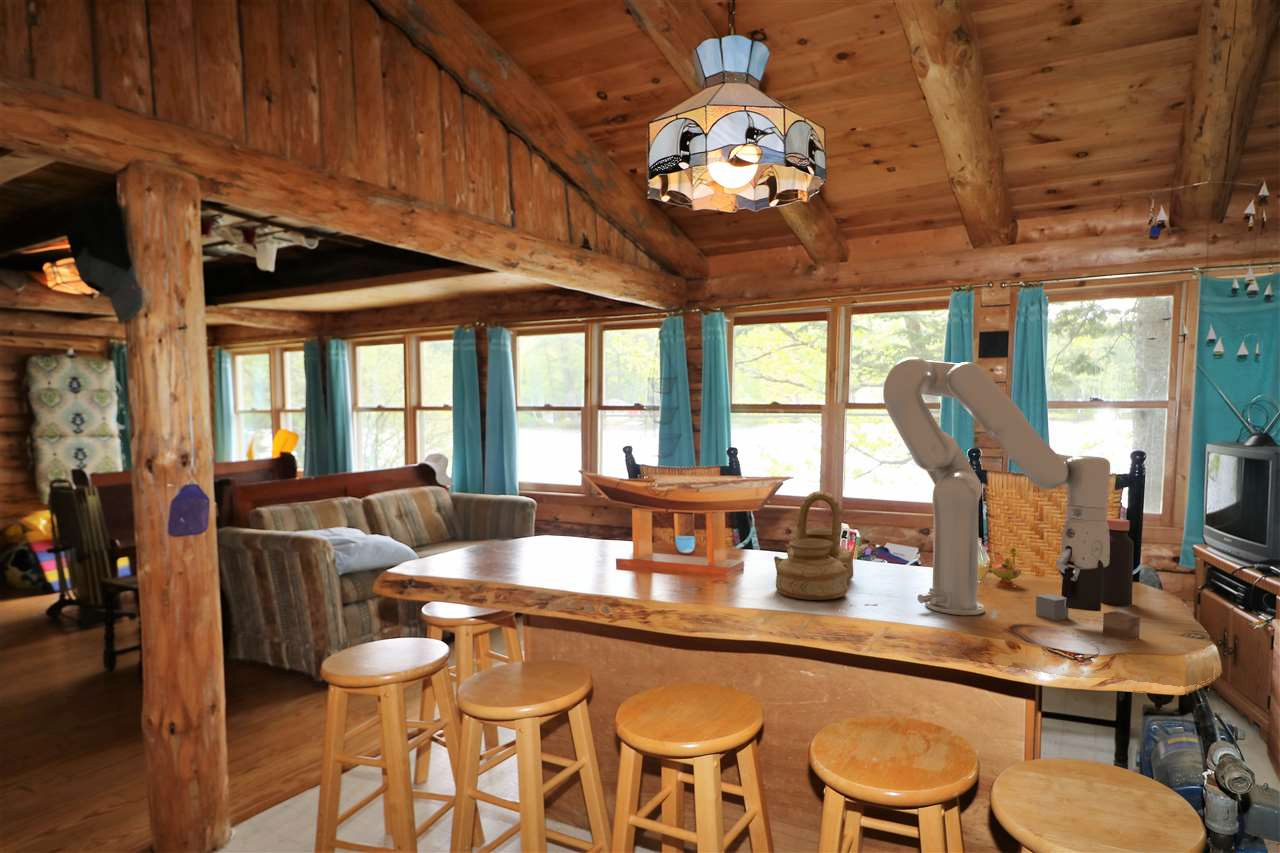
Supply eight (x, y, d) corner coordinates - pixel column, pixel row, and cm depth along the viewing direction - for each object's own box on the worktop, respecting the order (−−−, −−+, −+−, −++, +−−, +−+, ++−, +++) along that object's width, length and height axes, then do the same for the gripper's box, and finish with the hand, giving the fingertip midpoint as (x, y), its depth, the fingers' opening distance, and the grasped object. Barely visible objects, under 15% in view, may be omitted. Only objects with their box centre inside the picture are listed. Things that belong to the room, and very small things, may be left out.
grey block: (1054, 621, 158) (1055, 600, 158) (1035, 615, 162) (1036, 595, 162) (1068, 618, 160) (1068, 598, 160) (1049, 613, 164) (1049, 593, 164)
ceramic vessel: (788, 570, 206) (789, 483, 205) (855, 575, 200) (856, 486, 199) (767, 599, 174) (769, 496, 173) (847, 607, 168) (848, 500, 167)
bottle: (1115, 598, 177) (1117, 517, 176) (1139, 606, 170) (1141, 521, 169) (1091, 599, 175) (1093, 518, 175) (1114, 607, 169) (1116, 522, 168)
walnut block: (1125, 641, 144) (1126, 619, 144) (1102, 634, 148) (1103, 613, 148) (1139, 638, 146) (1139, 616, 146) (1116, 632, 150) (1117, 610, 150)
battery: (1097, 608, 155) (1100, 555, 155) (1102, 613, 151) (1105, 559, 151) (1060, 604, 157) (1063, 552, 157) (1064, 608, 154) (1068, 555, 153)
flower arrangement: (1008, 576, 199) (1009, 537, 199) (1028, 592, 181) (1029, 549, 181) (981, 575, 201) (982, 535, 200) (999, 591, 183) (1000, 548, 183)
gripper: (1077, 518, 146) (1071, 605, 147) (1129, 515, 154) (1124, 597, 154) (1042, 512, 153) (1037, 595, 154) (1094, 509, 161) (1089, 588, 161)
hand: (1081, 595), depth 154 cm, fingers closed on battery, 6 cm apart
